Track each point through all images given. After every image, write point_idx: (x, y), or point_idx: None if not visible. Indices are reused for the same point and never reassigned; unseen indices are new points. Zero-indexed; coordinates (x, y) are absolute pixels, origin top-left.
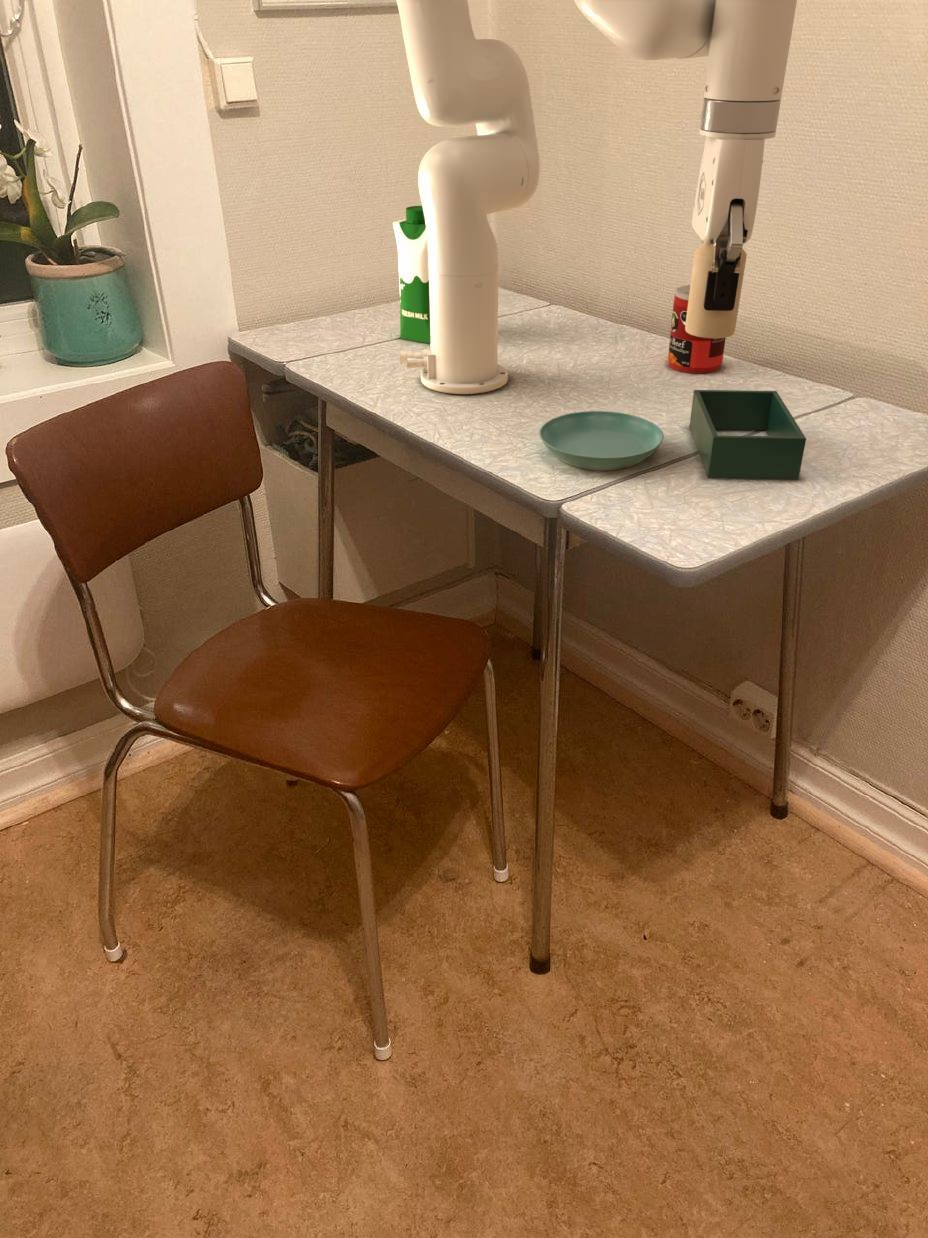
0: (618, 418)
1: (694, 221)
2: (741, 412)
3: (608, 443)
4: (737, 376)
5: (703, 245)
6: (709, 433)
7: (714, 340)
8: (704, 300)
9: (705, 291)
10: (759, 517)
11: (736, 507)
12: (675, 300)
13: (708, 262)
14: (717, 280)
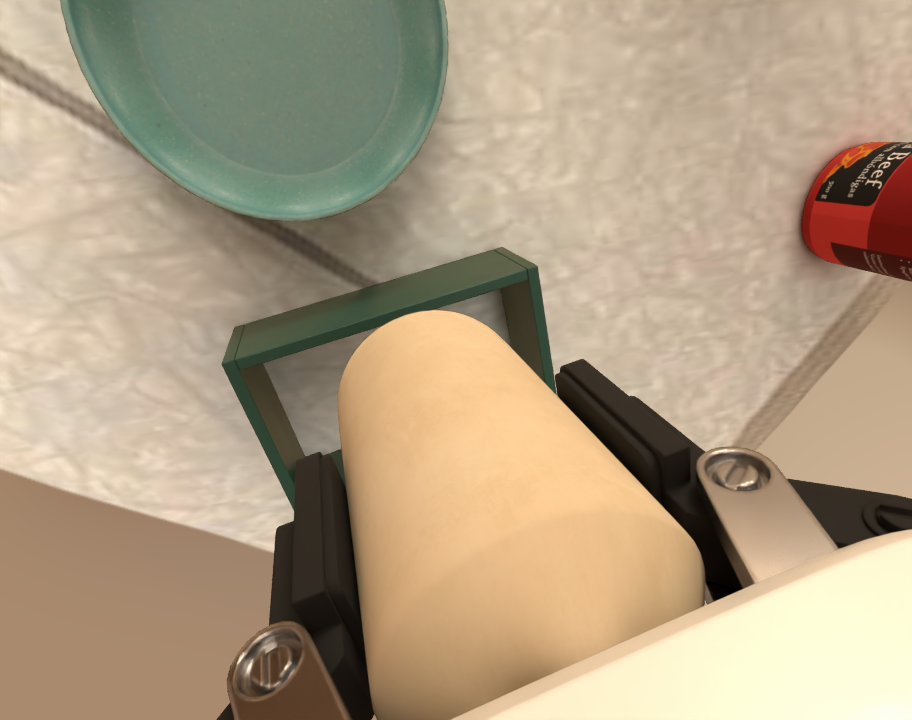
0: (433, 73)
1: (875, 648)
2: (524, 356)
3: (325, 64)
4: (781, 296)
5: (534, 622)
6: (272, 343)
7: (868, 256)
8: (311, 473)
9: (318, 500)
10: (85, 445)
11: (110, 401)
12: None
13: (377, 612)
14: (271, 618)
